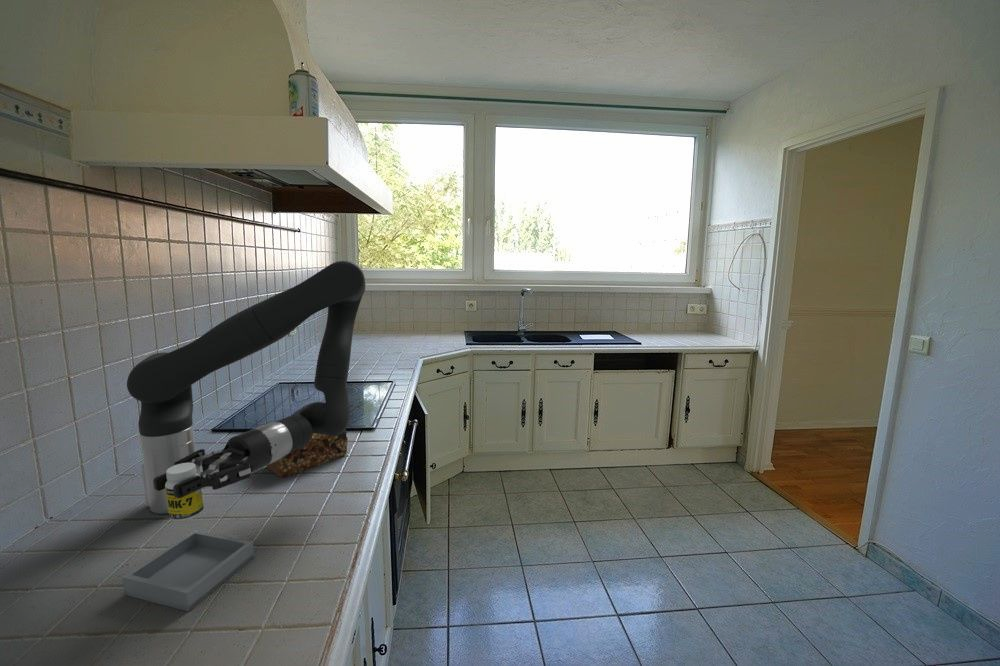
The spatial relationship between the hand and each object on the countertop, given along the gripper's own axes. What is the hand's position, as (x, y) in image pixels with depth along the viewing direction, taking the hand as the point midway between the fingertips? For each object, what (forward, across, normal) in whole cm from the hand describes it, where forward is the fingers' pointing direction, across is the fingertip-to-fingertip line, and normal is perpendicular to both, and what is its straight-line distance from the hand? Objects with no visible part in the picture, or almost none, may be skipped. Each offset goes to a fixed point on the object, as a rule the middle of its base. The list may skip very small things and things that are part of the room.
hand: (165, 488), depth 72 cm
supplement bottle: (-3, 0, +6) cm, 7 cm away
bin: (-2, 0, +17) cm, 18 cm away
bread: (-42, -17, +18) cm, 49 cm away
